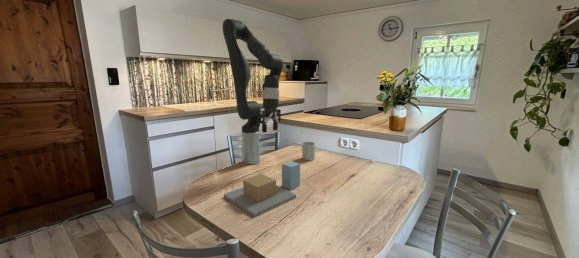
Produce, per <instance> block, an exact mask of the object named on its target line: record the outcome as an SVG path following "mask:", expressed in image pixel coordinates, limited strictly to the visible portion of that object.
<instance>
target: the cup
mask: <svg viewBox="0 0 579 258" xmlns="http://www.w3.org/2000/svg"><path fill="white" fill-rule="evenodd" d="M301 144H302V146H301V149H302V151H301V153H302V156H301V158H302V160H304V161H314V160H315V159H316V143H315V142H313V141H304V142H302V143H301Z"/></svg>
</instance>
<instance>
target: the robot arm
mask: <svg viewBox="0 0 579 258" xmlns="http://www.w3.org/2000/svg"><path fill="white" fill-rule="evenodd" d="M222 34H223V37H224V41H225V45H226V48H227V52H228V57H229V62H230V69H231V74H232V79H233V84H234V90H235V91H234V92H235V101H236V110H237V114H238V116H239V118H240V119H241V120H244V121H245V120H247V122H246V123H244V124H243V125H242V126H241V142H242V143H241V161H242V162H243V164H244V165H255V164H256V165H257V164H258V163H259V164H260V162H261V153H260V152H261V151H260V150H261V148H260V147H261V146H260V127H261V132H262V133H267V132H268V131H267V130H268V125H267V124H268V122H269V121H270V120H272V130H273V131H278V126H279V125H278V124H279V122H281V119H282V116H281V112H282V111H281V109H280V108H279V106H280V103H279V102H280V89H279V88H280V78H281V76H282V75H281V74H282V71H283V68H284V60H283V58H282V57H281V56H280V55H279V54H273V53H271V52H270V50H269V48H268V47H267V46H266V45H265V44H263V42H262V41H260V40H259V39H258V38H257V37H256V36H255V35H254V34H253V33H252V31H251V30H250V29H249V27H248V26H247V25H246V24H245V23H244V22H243V21H242V20H237V19H233V18H232V19H231V18H227V19H225V20H223V22H222ZM237 40H240V41H243V42H244V44H246V47H247V50H248V51H249V52H250V54H251V55H253V56H254V57H255V58H256V59H257V61H258V62H259V64H260V66H261V67H263V68H264V69H266V70H270V71H269V74H266V75H265V76H264V79H263V93H262V94H263V95H262V107H263V109H261V106H260V103H258V101H256V100H251V101H250V100H249V101H248V98H247V90H248V86H249V83H250V80H251V68H250V64H249V61H248V60H247V57H246V56H245V55H244V53H243V51H242V50H241V49H240V47H239V44H238V41H237ZM278 108H279V109H278Z"/></svg>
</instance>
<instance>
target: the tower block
mask: <svg viewBox="0 0 579 258" xmlns="http://www.w3.org/2000/svg"><path fill="white" fill-rule="evenodd" d="M300 186H301V163H299V162H295V161H292V160H290V161H288V162H283V163H281V187H282V188H283V187H284V188H285V189H287V190H290V191H292V190H294V189H296V188H298V187H299V188H300Z"/></svg>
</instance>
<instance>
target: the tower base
mask: <svg viewBox="0 0 579 258" xmlns="http://www.w3.org/2000/svg"><path fill="white" fill-rule="evenodd" d="M242 186H243V187H240V188H237V189H235V190H231V191H228V192H226V193H224V194H223V197H224V199H227V200H228V201H229V202H231V203H233V204H234V205H236V206H237V207H239V208H240V209H241V210H243V211H244V212H246V213H247V214H249V215H251V216H252V217H253V218H256V217H258V216H260V215H262V214H265V213H267V212H268V211H271V210H274V209H275V208H277V207H280V206H281V205H284V204H285V203H287V202H290V201H292V200H295V199H296V198H297V194H296V193H293V192H291V191H289V190H288V189H286V188H283V187H282V186H279V185H277V180H276V179H275V178H272V177H271V176H268V175H265V174H263V173H260V174H256V175H254V176H251V177H247V178H245V179H242Z"/></svg>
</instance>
